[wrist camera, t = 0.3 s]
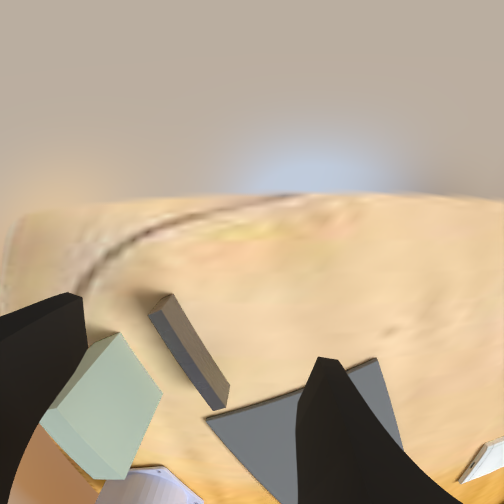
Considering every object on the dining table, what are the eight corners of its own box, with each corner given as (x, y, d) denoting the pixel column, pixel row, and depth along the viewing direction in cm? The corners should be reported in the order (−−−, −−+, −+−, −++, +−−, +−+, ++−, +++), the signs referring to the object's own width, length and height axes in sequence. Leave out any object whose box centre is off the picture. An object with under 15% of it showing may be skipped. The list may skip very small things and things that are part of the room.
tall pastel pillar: (135, 400, 22) (93, 479, 14) (93, 342, 21) (30, 412, 12) (163, 393, 22) (124, 479, 13) (120, 332, 21) (56, 408, 12)
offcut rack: (80, 421, 24) (69, 436, 21) (32, 356, 22) (17, 369, 20) (230, 385, 21) (226, 407, 19) (173, 293, 20) (161, 309, 17)
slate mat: (288, 507, 26) (288, 510, 25) (206, 418, 22) (205, 421, 22) (407, 469, 24) (408, 471, 23) (376, 357, 20) (377, 360, 20)
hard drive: (542, 423, 22) (488, 448, 22) (516, 461, 23) (460, 486, 24) (537, 416, 23) (483, 440, 24) (512, 454, 25) (456, 478, 26)
